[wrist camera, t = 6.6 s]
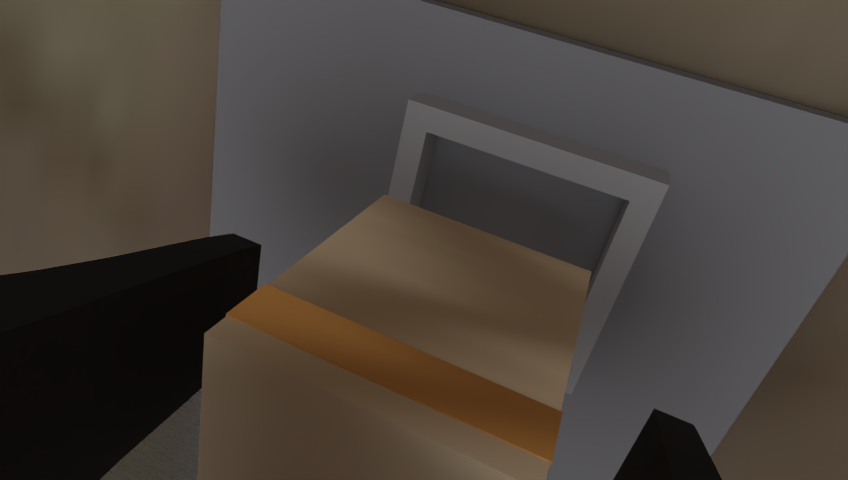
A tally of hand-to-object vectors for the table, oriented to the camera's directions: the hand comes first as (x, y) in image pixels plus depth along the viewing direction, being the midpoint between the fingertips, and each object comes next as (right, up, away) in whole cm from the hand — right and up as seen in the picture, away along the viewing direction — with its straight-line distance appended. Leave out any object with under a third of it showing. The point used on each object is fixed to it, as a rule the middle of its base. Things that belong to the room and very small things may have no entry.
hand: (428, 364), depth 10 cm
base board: (+1, 0, +7) cm, 7 cm away
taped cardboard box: (+1, +1, +1) cm, 2 cm away
